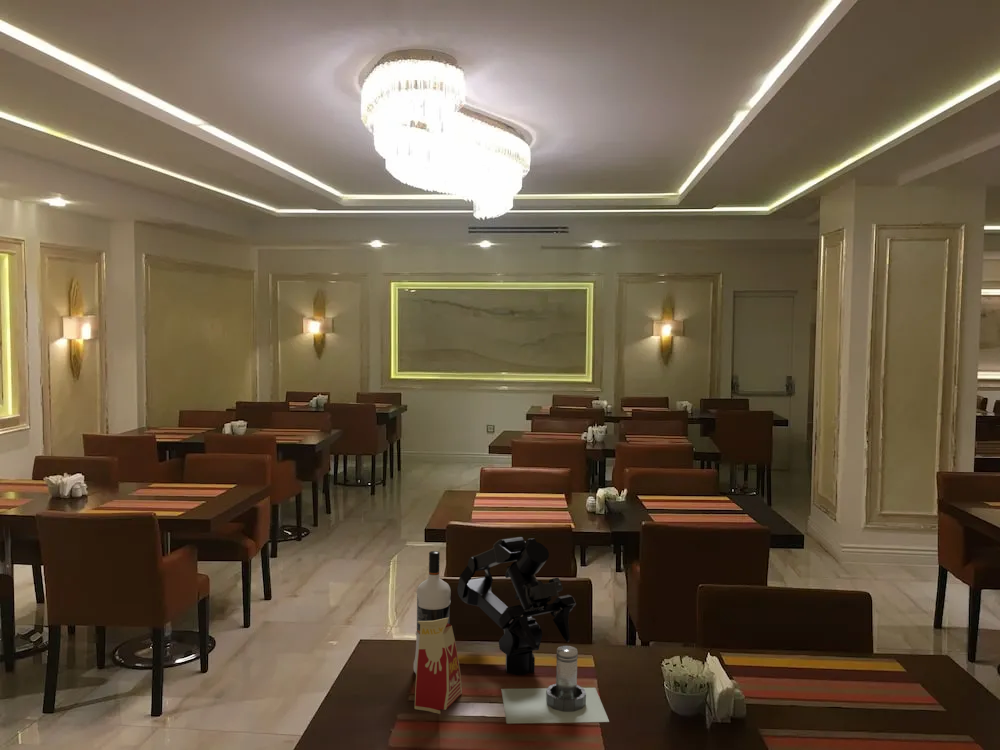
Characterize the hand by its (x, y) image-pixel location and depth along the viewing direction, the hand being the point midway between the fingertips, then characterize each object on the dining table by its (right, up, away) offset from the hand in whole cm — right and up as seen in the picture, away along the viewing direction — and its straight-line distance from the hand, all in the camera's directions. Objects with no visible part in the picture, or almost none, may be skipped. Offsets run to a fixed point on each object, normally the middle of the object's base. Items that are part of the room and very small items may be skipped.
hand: (552, 645), depth 184 cm
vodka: (-29, -11, +13) cm, 33 cm away
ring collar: (+3, -11, -4) cm, 12 cm away
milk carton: (-26, -12, -3) cm, 29 cm away
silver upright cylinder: (+3, -11, -4) cm, 12 cm away
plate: (0, -13, -5) cm, 14 cm away
